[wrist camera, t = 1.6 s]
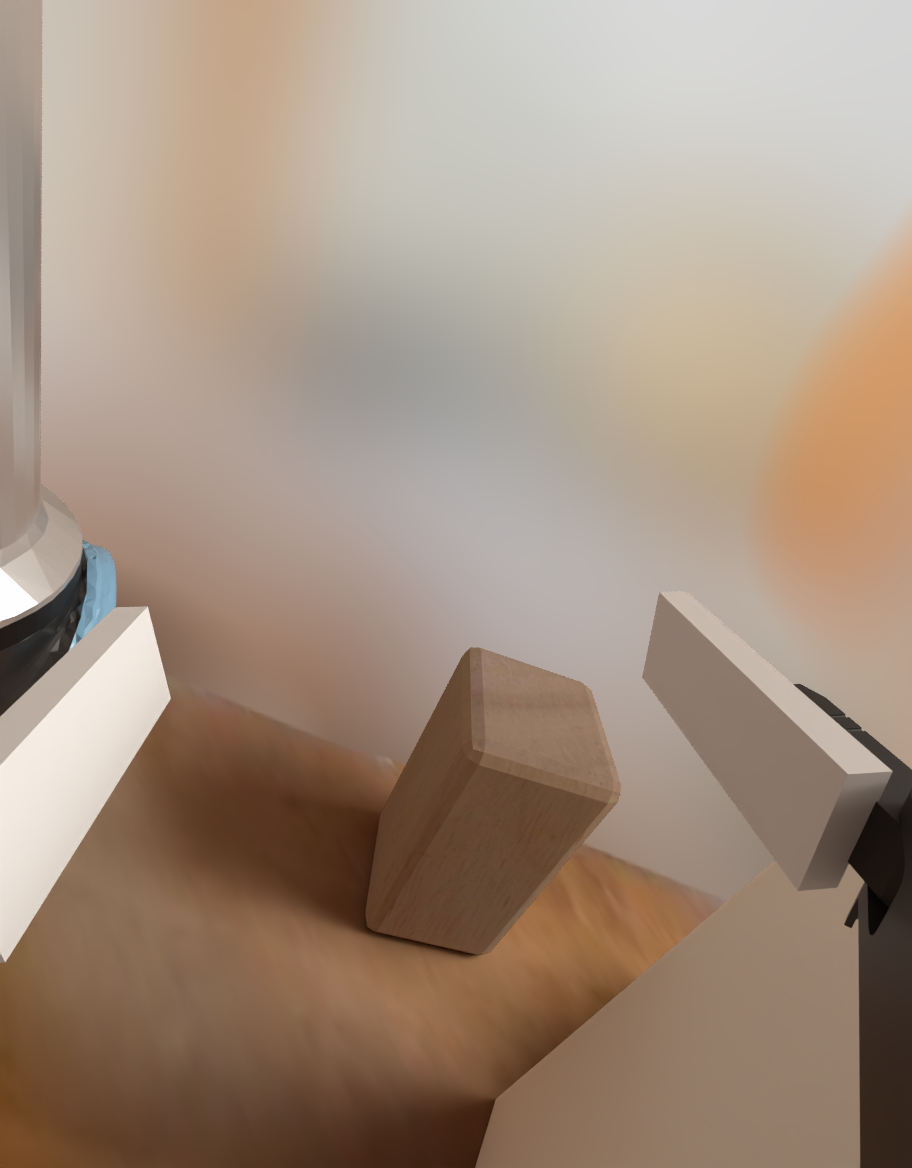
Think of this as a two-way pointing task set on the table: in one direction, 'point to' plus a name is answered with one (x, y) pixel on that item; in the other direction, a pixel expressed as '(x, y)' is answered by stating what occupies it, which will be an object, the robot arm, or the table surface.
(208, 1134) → the table surface
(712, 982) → the stand
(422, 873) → the block
